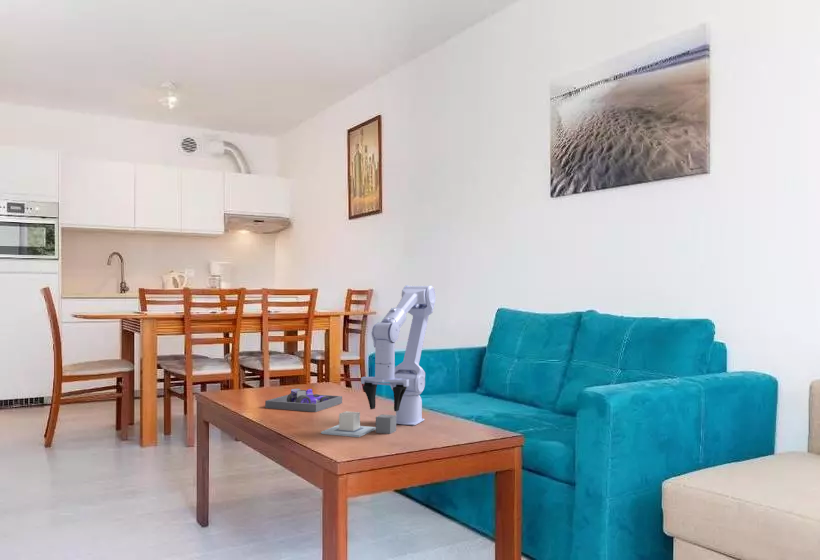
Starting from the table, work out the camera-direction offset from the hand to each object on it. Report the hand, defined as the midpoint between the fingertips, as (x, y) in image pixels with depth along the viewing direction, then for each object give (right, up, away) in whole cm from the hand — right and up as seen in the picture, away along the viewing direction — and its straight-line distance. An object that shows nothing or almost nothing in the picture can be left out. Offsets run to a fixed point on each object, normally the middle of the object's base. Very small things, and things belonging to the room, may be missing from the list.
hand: (384, 409), depth 192 cm
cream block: (-10, -6, 0) cm, 12 cm away
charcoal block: (0, -7, 0) cm, 7 cm away
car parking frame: (-30, -7, +43) cm, 53 cm away
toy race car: (-28, -8, +43) cm, 52 cm away
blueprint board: (-10, -6, 0) cm, 12 cm away
